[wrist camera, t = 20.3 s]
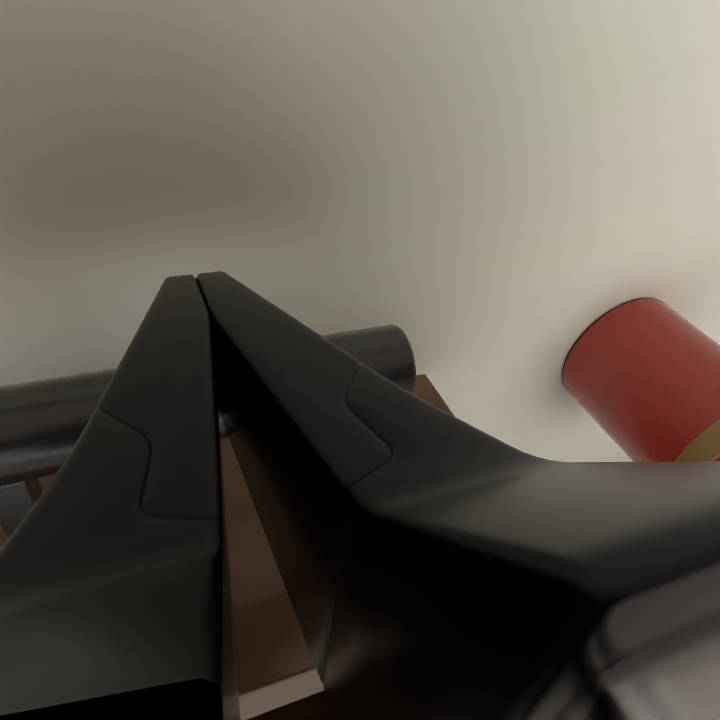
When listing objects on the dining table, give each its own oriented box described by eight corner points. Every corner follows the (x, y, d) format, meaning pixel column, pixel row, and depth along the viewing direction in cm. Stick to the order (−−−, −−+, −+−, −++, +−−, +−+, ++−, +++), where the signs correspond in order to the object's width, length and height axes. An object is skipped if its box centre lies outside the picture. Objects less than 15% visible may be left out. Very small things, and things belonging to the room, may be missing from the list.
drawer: (-266, 287, 9) (-621, 751, 4) (458, 218, 14) (669, 411, 9) (51, 734, 22) (48, 975, 17) (370, 623, 27) (437, 790, 22)
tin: (631, 278, 19) (791, 398, 15) (688, 319, 22) (836, 428, 18) (538, 381, 21) (657, 514, 17) (602, 406, 24) (717, 525, 19)
